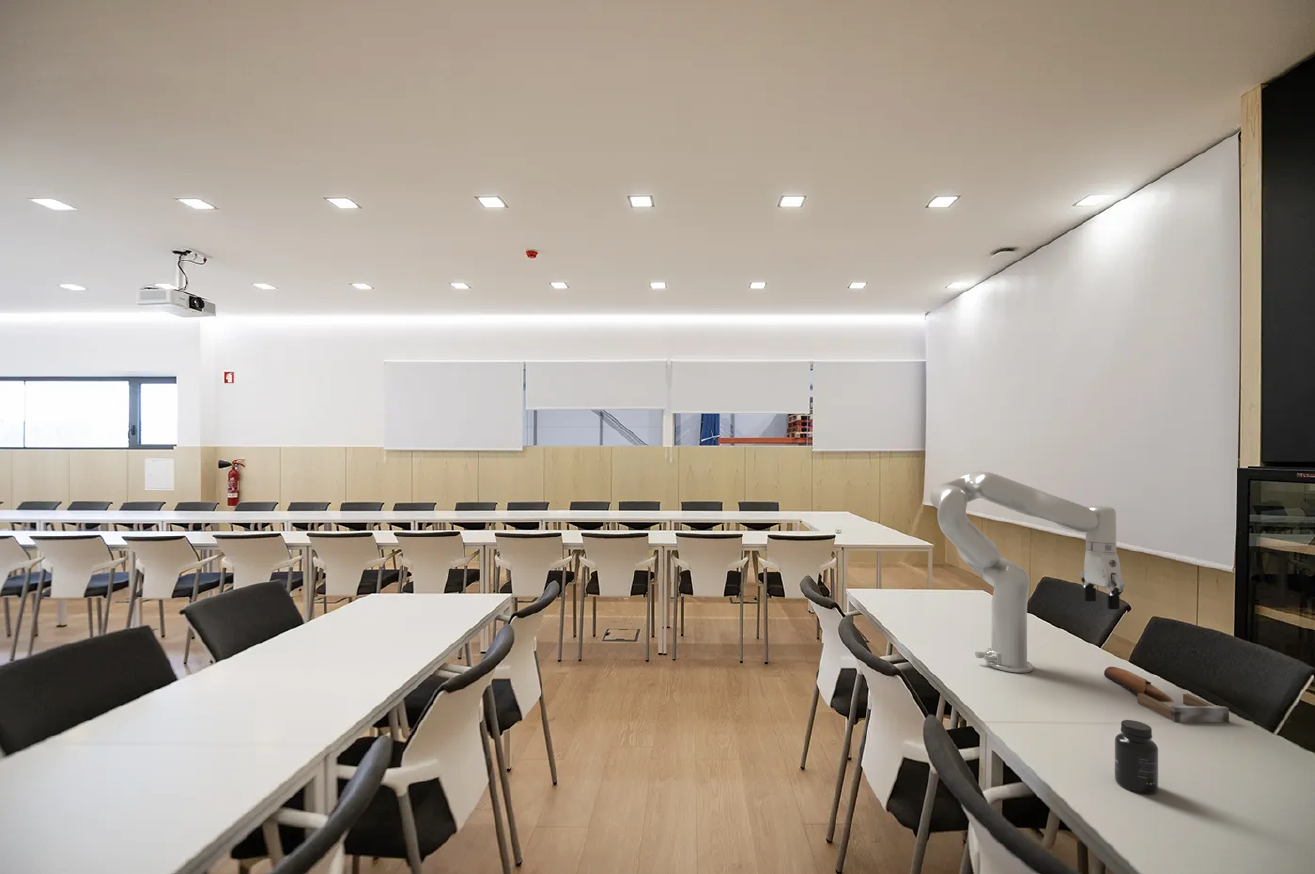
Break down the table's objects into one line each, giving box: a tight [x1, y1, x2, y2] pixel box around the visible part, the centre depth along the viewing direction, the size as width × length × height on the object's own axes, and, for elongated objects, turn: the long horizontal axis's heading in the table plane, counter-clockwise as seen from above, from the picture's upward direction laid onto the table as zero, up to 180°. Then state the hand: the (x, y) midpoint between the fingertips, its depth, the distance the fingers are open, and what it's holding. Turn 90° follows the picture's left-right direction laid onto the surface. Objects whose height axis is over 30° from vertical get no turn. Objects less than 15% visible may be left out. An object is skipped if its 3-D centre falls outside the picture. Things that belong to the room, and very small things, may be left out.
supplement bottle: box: [1114, 719, 1159, 795], centre depth 124 cm, size 7×7×12 cm
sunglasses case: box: [1103, 666, 1175, 703], centre depth 176 cm, size 18×7×7 cm, turn 174°
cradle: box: [1137, 693, 1230, 723], centre depth 160 cm, size 13×12×4 cm
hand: (1101, 604), depth 189 cm, fingers open, 9 cm apart
